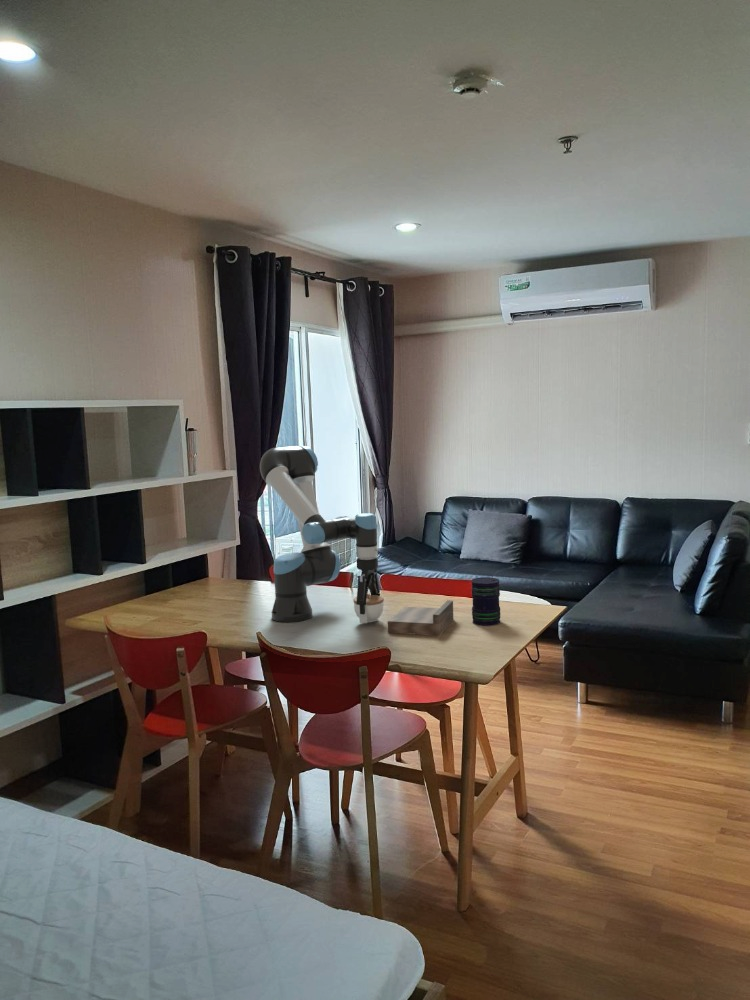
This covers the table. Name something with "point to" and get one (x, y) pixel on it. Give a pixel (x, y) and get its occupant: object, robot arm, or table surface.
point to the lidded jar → (371, 607)
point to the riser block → (422, 620)
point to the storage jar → (485, 601)
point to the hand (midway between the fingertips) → (369, 618)
